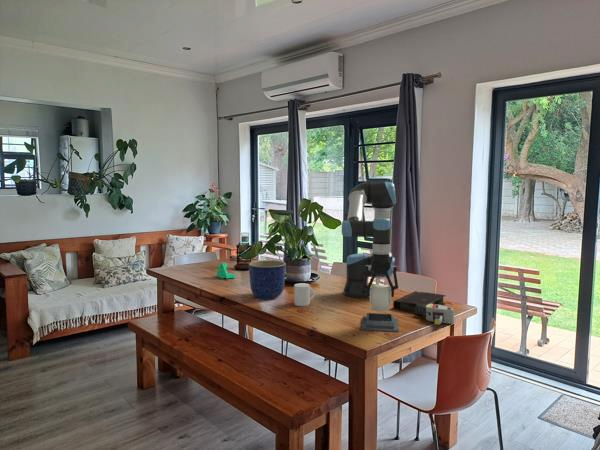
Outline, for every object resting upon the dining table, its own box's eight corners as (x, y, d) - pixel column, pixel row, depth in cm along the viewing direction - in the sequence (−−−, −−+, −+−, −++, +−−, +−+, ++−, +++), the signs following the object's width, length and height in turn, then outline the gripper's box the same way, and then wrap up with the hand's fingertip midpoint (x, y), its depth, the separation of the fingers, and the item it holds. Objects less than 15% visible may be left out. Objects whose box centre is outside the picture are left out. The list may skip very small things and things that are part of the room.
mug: (291, 284, 231) (309, 281, 238) (291, 303, 232) (309, 300, 239) (299, 287, 224) (318, 284, 231) (299, 307, 225) (318, 303, 232)
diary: (392, 309, 223) (392, 299, 223) (413, 299, 242) (413, 290, 242) (427, 315, 211) (427, 305, 211) (447, 304, 230) (447, 295, 230)
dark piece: (256, 267, 332) (255, 241, 330) (251, 271, 318) (251, 244, 316) (237, 267, 334) (236, 241, 332) (231, 270, 320) (231, 243, 318)
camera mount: (236, 278, 294) (236, 263, 293) (226, 280, 289) (226, 264, 288) (226, 275, 303) (225, 261, 302) (216, 277, 298) (216, 262, 297)
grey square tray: (362, 318, 206) (362, 311, 206) (397, 320, 203) (397, 313, 203) (361, 329, 191) (361, 321, 190) (398, 331, 188) (399, 323, 187)
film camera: (403, 321, 204) (422, 314, 214) (440, 330, 190) (458, 322, 199) (402, 307, 204) (421, 300, 214) (439, 314, 189) (458, 307, 199)
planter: (292, 298, 242) (292, 264, 241) (258, 303, 232) (258, 268, 230) (275, 290, 260) (275, 259, 258) (243, 295, 250) (242, 262, 248)
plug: (371, 305, 201) (371, 284, 200) (389, 306, 199) (389, 284, 198) (371, 310, 193) (371, 288, 192) (389, 311, 191) (389, 288, 191)
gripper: (357, 253, 192) (356, 304, 194) (405, 255, 188) (404, 306, 190) (357, 251, 199) (357, 300, 201) (404, 252, 196) (403, 302, 198)
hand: (380, 303), depth 196 cm, fingers closed on plug, 8 cm apart
